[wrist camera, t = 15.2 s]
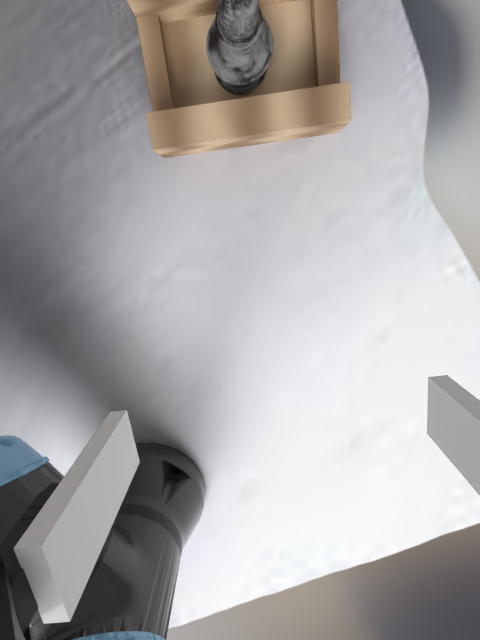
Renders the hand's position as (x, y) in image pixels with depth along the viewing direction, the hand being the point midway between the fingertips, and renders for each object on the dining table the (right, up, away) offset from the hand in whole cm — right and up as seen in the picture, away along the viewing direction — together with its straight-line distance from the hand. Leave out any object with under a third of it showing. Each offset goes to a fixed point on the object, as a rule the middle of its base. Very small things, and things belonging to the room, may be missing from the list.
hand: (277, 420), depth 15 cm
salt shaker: (-2, +29, +18) cm, 35 cm away
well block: (-2, +29, +19) cm, 35 cm away
